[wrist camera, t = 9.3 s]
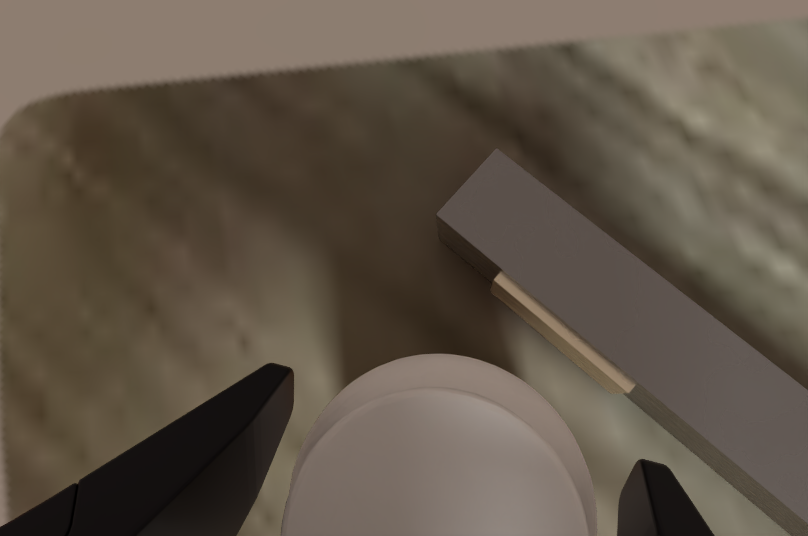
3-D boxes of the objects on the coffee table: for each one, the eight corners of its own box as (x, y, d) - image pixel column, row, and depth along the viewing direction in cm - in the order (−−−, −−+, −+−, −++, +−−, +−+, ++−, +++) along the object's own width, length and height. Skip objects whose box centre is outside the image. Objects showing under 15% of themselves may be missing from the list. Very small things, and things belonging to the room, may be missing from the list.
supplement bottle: (318, 438, 17) (149, 481, 8) (469, 334, 18) (481, 257, 8) (420, 609, 16) (366, 907, 7) (581, 496, 16) (751, 625, 7)
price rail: (1098, 811, 14) (1235, 899, 11) (432, 245, 18) (428, 222, 16) (1163, 714, 14) (1309, 780, 12) (491, 180, 19) (496, 148, 16)
